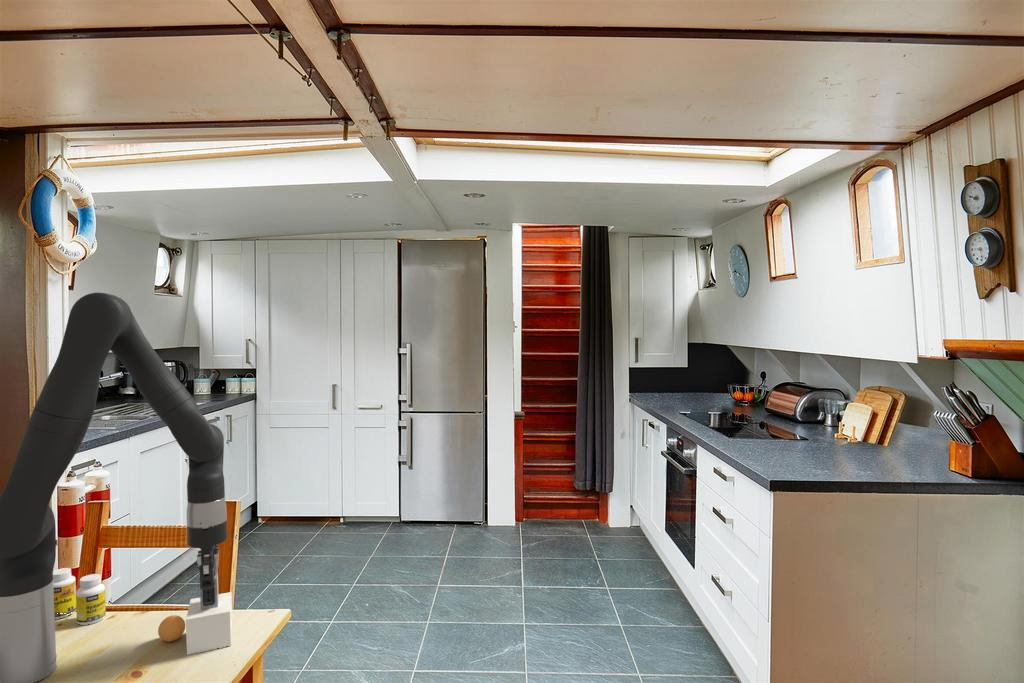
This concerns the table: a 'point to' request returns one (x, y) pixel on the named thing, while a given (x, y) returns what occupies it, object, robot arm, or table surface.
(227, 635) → the white block
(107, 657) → the table surface
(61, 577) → the supplement bottle
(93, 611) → the supplement bottle
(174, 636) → the ball
